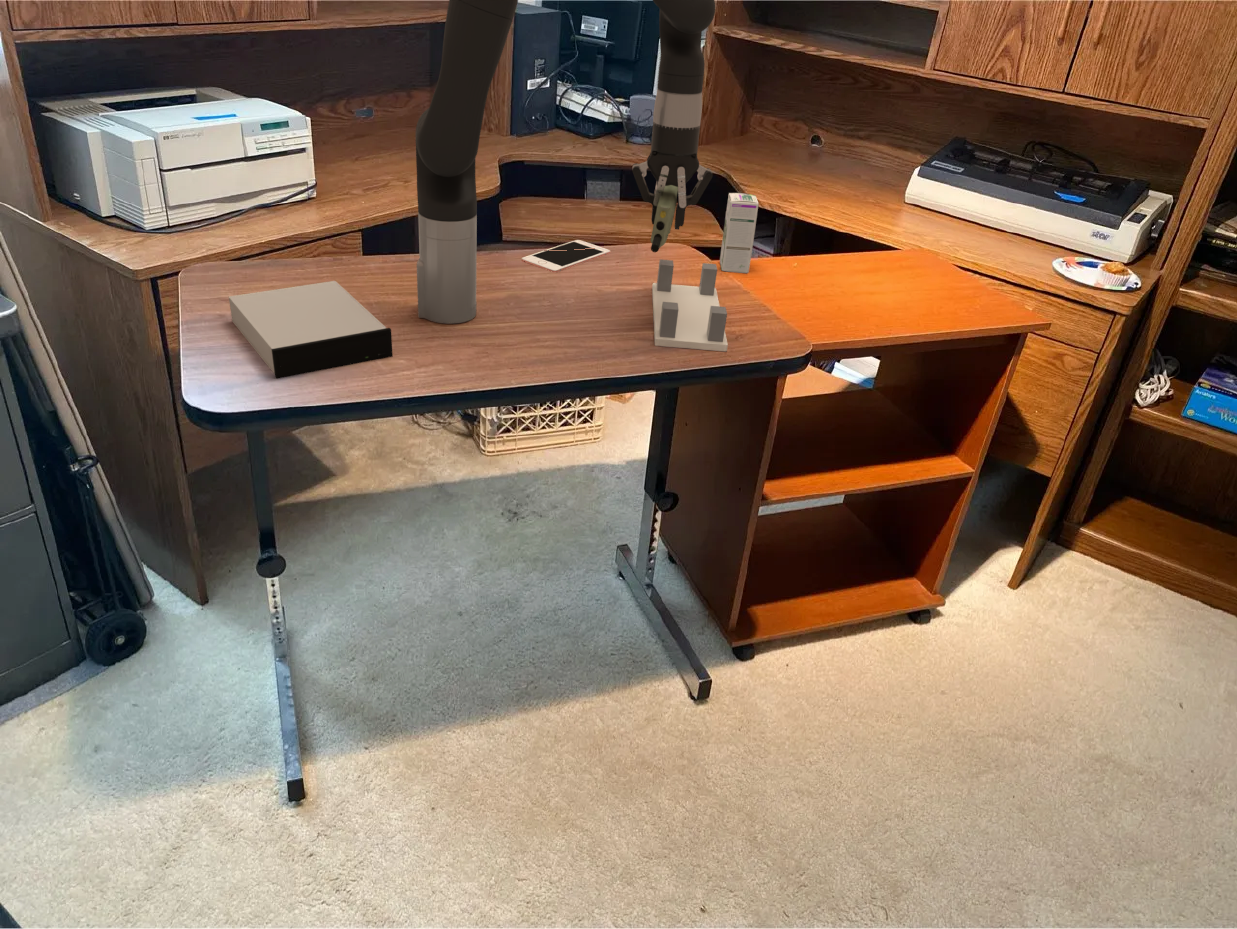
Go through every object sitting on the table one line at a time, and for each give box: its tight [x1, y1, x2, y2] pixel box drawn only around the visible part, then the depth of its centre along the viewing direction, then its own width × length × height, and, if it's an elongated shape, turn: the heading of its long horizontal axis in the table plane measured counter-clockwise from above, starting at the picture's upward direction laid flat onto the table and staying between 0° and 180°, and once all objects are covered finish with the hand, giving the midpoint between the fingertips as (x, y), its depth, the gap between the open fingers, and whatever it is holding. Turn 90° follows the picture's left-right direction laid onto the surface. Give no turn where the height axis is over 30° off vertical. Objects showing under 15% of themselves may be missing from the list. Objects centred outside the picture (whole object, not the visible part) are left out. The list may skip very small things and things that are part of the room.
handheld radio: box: [650, 185, 678, 253], centre depth 155 cm, size 7×3×25 cm
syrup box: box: [719, 192, 760, 274], centre depth 185 cm, size 6×6×14 cm
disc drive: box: [228, 280, 394, 380], centre depth 143 cm, size 18×22×5 cm
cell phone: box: [521, 239, 611, 273], centre depth 186 cm, size 9×18×1 cm, turn 143°
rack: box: [651, 258, 729, 352], centre depth 162 cm, size 12×26×6 cm, turn 179°
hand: (667, 226), depth 156 cm, fingers closed on handheld radio, 2 cm apart
